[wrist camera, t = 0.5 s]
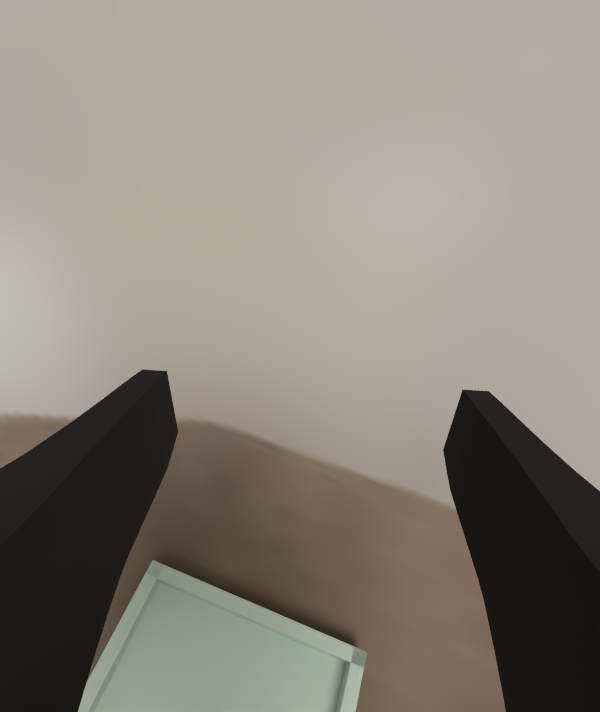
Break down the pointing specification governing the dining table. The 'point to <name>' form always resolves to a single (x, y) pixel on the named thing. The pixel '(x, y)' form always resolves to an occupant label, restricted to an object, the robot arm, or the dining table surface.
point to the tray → (217, 656)
